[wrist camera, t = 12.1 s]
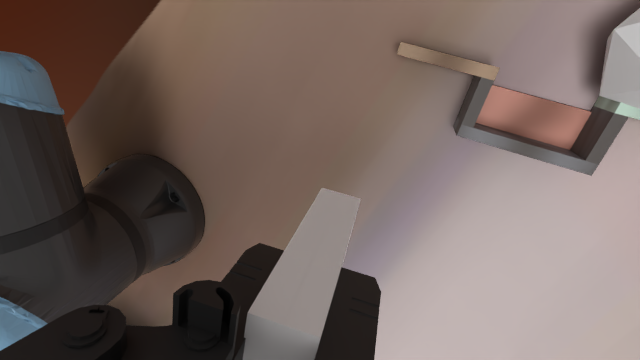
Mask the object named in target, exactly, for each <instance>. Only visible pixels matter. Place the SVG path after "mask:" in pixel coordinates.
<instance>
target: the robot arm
mask: <svg viewBox="0 0 640 360" xmlns="http://www.w3.org/2000/svg"><path fill="white" fill-rule="evenodd" d="M62 114H63V115H64V110H63V109H62V108H61V107H60V106H59V104H58V101H57V98H56V95H55V92H54V90H53V87H52V84H51V81H50V78H49V75H48V73H47V71H46V70H45V69H44V68H43V66H42V65H41V64H39V63H38V62H37V61H35V60H34V59H32V58H30V57H27V56H24V55H21V54H17V53H10V52H3V51H0V360H374V355H375V345H376V335H377V325H378V316H379V306H380V296H381V291H380V289H379V286H378V284H377V281H376V279H375V278H374V277H371V276H368V275H364V274H361V273H358V272H355V271H352V270H348V269H345V268H342V266H343V263H344V259H345V256H346V252H347V248H348V245H349V241H350V237H351V234H352V230H353V227H354V223H355V219H356V216H357V212H358V208H359V205H360V201H361V199H360V198H357V197H353V196H350V195H346V194H343V193H339V192H336V191H332V190H328V189H325V188H321V190H320V192H319V193H318V195H317V197H316V198H315V200H314V202H313V203H312V205H311V207H310V208H309V210H308V212H307V213H306V215H305V217H304V218H303V220H302V222H301V224H300V225H299V227H298V229H297V230H296V232H295V234H294V235H293V237H292V239H291V240H290V242H289V244H288V245H287V247H286V249H285V250H284V251H283V250H280V249H277V248H274V247H271V246H267V245H264V244H261V243H259V244H257V245H255V246H253V247H251V248H249V249H247V250H246V251H245V252H244V253H243V255H242V256H241V257H240V258H239V260H238V261H237V263H236V264H235V265H234V266H233V267H232V269H231V270H230V272H229V273H228V274H227V275H226V276H225V278H224V279H223V280H222V281H221V282H217V281H212V280H205V281H195V282H193V283H190V284H187V285H184V286H183V287H181V288H180V289H179V290H177V291H176V292H175V293H173V323H172V325H169V326H159V327H151V326H130V325H126V317H125V316H124V315H123V314H122V312H121V311H120V310H119V309H116V308H114V307H111V306H109V305H106V304H108V303H109V302H110V301H111V300H112V299H113V298H115V297H116V296H117V295H118V294H119V293H121V292H122V291H123V290H124V289H125V288H127V287H128V286H129V285H130V284H131V283H133V282H134V281H135V280H136V279H137V278H139V277H140V276H141V275H144V274H146V273H149V272H151V271H153V270H155V269H157V268H159V267H162V266H166V265H170V264H173V263H175V262H178V261H179V260H181V259H183V258H184V257H185V256H186V255H187V254H189V253H190V252H191V251H192V250H193V249H194V248H195V247H196V246H197V245H198V243H199V242H200V240H201V238H202V235H203V232H204V212H203V208H202V205H201V202H200V199H199V197H198V195H197V193H196V191H195V189H194V188H193V186H192V185H191V184H190V182H189V181H188V180H187V179H186V177H185V176H184V175H183V174H182V173H181V172H180V171H178V170H177V169H176V168H175V167H173V166H172V165H170V164H169V163H167V162H165V161H164V160H161V159H159V158H157V157H153V156H149V155H132V156H128V157H125V158H123V159H120V160H118V161H115V162H113V163H111V164H110V165H108V166H107V167H105V168H104V169H103V170H102V171H101V172H100V174H99V175H98V177H97V178H96V179H94V180H92V181H91V182H90V183H89V184H87V185H86V186H85V187H84V188H83V186H82V182H81V179H80V176H79V172H78V169H77V165H76V162H75V158H74V155H73V151H72V148H71V144H70V141H69V137H68V134H67V130H66V127H65V123H64V120H63V117H62Z"/></svg>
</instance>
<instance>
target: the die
mask: <svg viewBox="0 0 640 360" xmlns="http://www.w3.org/2000/svg"><path fill="white" fill-rule="evenodd" d="M599 96H602V97H605V98H608V99H611V100H614V101H617V102H622V103H624V104H626V105H630V106H633V107H636V108H639V109H640V8H639V9H638V10H637V11H635V12H634V13H633V14H632V15H631V16H629V17H628V18H627V19H626V20H625V21H623V22H622V23H621V24H620V25H618V26H617V27H616V28H615V29H614V30H613V31H612V33H611V34H610V36H609V37H608V39H607V45H606V52H605V59H604V66H603V73H602V79H601V86H600V93H599Z"/></svg>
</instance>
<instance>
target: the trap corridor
mask: <svg viewBox="0 0 640 360" xmlns="http://www.w3.org/2000/svg"><path fill="white" fill-rule="evenodd" d="M397 55H401V56H404V57H408V58H412V59H416V60H419V61H423V62H427V63H430V64H434V65H438V66H442V67H445V68H449V69H453V70H456V71H460V72H464V73H468V74H471V75H475V76H474V78H473V81H472V83H471V86H470V88H469V90H468V93H467V95H466V98H465V100H464V102H463V105H462V107H461V110H460V112H459V115H458V117H457V119H456V122H455V124H454V130H455V132H456V135H457V136H460V137H463V138H467V139H470V140H473V141H477V142H480V143H484V144H487V145H490V146H494V147H497V148H500V149H504V150H507V151H510V152H514V153H517V154H520V155H524V156H527V157H530V158H534V159H537V160H541V161H544V162H547V163H551V164H554V165H557V166H561V167H564V168H567V169H571V170H574V171H577V172H581V173H584V174H588V175H591V176H592V174H593V173H594V171H595V170H596V168H597V166H598V165H599V163H600V162H601V160H602V158H603V157H604V155H605V154H606V152H607V151H608V149H609V147H610V146H611V144H612V143H613V141H614V139H615V138H616V136H617V135H618V133H619V131H620V130H621V128H622V127H623V125H624V123H625V122H626V120H627V119H628V117H631V118H635V119H638V120H640V109H639V108H636V107H633V106H630V105H626V104H624V103H622V102H617V101H614V100H611V99H608V98H605V97H602V96H599V97H598V99H597V101H596V103H595V104H594V106H593V108H592V109H591V111H587V110H583V109H579V108H576V107H572V106H568V105H565V104H561V103H557V102H553V101H550V100H546V99H542V98H539V97H535V96H531V95H528V94H524V93H520V92H517V91H513V90H509V89H506V88H502V87H498V86H495V85H492V84H493V82H494V80H495V77H496V75H497V73H498V71H499V68H498V67H495V66H491V65H487V64H483V63H480V62H476V61H472V60H468V59H464V58H461V57H457V56H453V55H449V54H445V53H442V52H438V51H434V50H430V49H426V48H423V47H419V46H415V45H411V44H407V43H404V42H400V46H399V49H398V52H397Z"/></svg>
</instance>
